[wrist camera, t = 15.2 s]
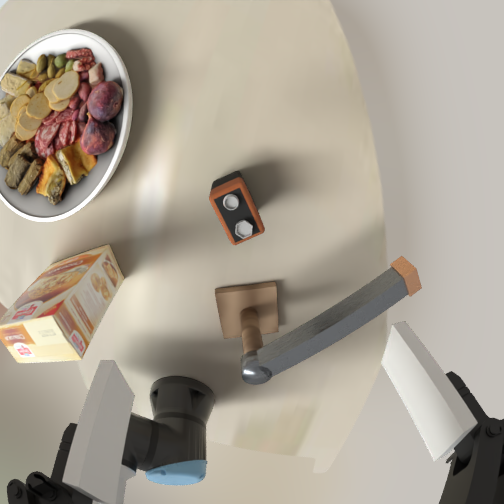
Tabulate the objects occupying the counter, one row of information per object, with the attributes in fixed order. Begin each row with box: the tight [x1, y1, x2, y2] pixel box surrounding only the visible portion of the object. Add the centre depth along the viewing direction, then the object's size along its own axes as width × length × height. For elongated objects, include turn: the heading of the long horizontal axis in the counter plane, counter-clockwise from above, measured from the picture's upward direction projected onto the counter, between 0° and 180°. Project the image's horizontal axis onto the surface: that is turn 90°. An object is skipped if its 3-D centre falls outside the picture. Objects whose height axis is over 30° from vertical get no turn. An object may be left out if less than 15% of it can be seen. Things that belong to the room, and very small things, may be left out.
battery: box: [209, 171, 265, 245], centre depth 35 cm, size 4×7×10 cm, turn 24°
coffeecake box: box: [0, 244, 124, 363], centre depth 34 cm, size 15×7×20 cm, turn 103°
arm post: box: [215, 282, 279, 354], centre depth 43 cm, size 10×10×12 cm
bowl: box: [0, 29, 133, 222], centre depth 28 cm, size 30×30×8 cm
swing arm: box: [241, 256, 422, 385], centre depth 34 cm, size 4×26×4 cm, turn 124°
